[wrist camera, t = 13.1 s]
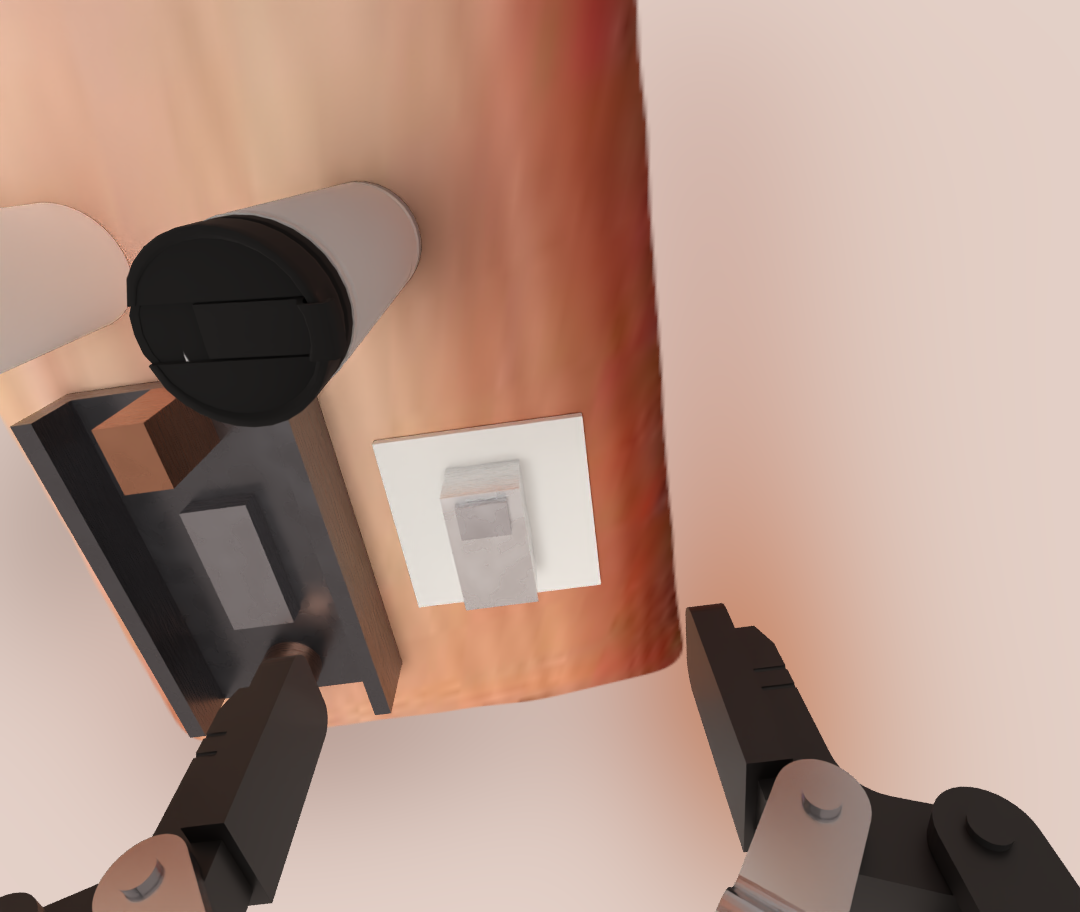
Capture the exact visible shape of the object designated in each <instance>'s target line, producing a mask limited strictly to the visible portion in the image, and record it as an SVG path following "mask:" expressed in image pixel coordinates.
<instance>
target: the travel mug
mask: <svg viewBox="0 0 1080 912" xmlns="http://www.w3.org/2000/svg"><path fill="white" fill-rule="evenodd" d="M420 255H421V236H420V231H419V227H418V224H417V222H416V220H415V218H414V215H413V214H412V212H411V211H410V209H409V208H408V206H407V205H406V204H405V203H404V202H403V201H402V200H401V199H400V198H399V197H398V196H397V195H396V194H394V193H393V192H391V191H390V190H388V189H386V188H384V187H382V186H380V185H377V184H373V183H370V182H358V181H355V182H350V183H344V184H340V185H336V186H332V187H328V188H324V189H320V190H316V191H312V192H308V193H304V194H300V195H296V196H292V197H288V198H284V199H280V200H276V201H272V202H268V203H264V204H260V205H256V206H252V207H248V208H244V209H240V210H236V211H231V212H227V213H225V214H219V215H215V216H213V217H210V218H208V219H206V220H203V221H200V222H196V223H192V224H188V225H184V226H180V227H176V228H174V229H171V230H169V231H167V232H165V233H162V234H160V235H158V236H156V237H155V238H154V239H153V240H152V241H150V242H149V243H148V244H147V245H145V246H144V247H143V248H142V250H141V251H140V253H139V254H138V255H137V257H136V258H135V260H134V261H133V263H132V265H131V268H130V271H129V273H128V276H127V279H126V286H127V307H131V308H130V315H129V317H130V320H131V324H132V328H133V331H134V335H135V337H136V340H137V342H138V344H139V346H140V348H141V350H142V352H143V354H144V355H145V357H146V358H147V359H148V360H149V361H150V362H151V363H152V364H151V365H150V366H149V367H150V368H151V370H152V371H153V373H154V374H155V375H156V377H157V378H158V379H159V381H160V382H161V384H162V385H163V386H164V388H165V389H166V390H167V391H168V392H169V393H171V394H172V395H173V396H174V397H175V398H177V399H178V400H179V401H180V402H181V403H183V404H185V405H186V406H188V407H189V408H191V409H193V410H194V411H196V412H198V413H199V414H202V415H204V416H206V417H209V418H211V419H213V420H216V421H218V422H222V423H226V424H230V425H234V426H242V427H263V426H271V425H275V424H278V423H281V422H284V421H287V420H289V419H291V418H292V417H294V416H296V415H297V414H299V413H301V412H302V411H303V410H304V409H305V408H306V407H307V406H308V405H309V404H310V403H311V402H312V401H313V400H314V399H315V398H316V396H317V395H318V394H319V393H320V391H321V390H322V389H323V388H324V386H325V385H326V384H327V383H328V381H329V380H330V379H331V378H332V377H333V376H334V375H335V374H336V373H337V372H338V371H339V370H340V369H341V367H342V366H343V364H344V363H345V362H346V361H347V360H348V358H349V357H350V356H351V354H352V353H353V352H354V351H355V349H356V348H357V347H358V345H359V344H360V343H361V342H362V340H363V339H364V338H365V336H366V335H367V334H368V333H369V331H370V330H371V329H372V327H373V326H374V325H375V323H376V322H377V321H378V320H379V318H380V317H381V316H382V314H383V313H384V312H385V311H386V309H387V308H388V307H389V305H390V304H391V303H392V302H393V300H394V299H395V298H396V296H397V295H398V294H399V292H400V291H401V290H402V289H403V287H404V286H405V285H406V283H407V282H408V281H409V280H410V278H411V277H412V275H413V274H414V272H415V270H416V268H417V266H418V263H419V260H420Z"/></svg>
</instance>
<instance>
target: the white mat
mask: <svg viewBox="0 0 1080 912" xmlns="http://www.w3.org/2000/svg"><path fill="white" fill-rule="evenodd" d="M372 446H373V450H374V453H375V457H376V460H377V464H378V467H379V470H380V474H381V477H382V481H383V484H384V488H385V491H386V495H387V498H388V502H389V505H390V509H391V512H392V516H393V519H394V523H395V526H396V530H397V533H398V536H399V540H400V543H401V547H402V550H403V554H404V557H405V561H406V564H407V568H408V571H409V575H410V578H411V582H412V585H413V589H414V592H415V595H416V599H417V602H418V606H419V607H426V606H434V605H442V604H450V603H458V602H464V599H463V595H462V591H461V587H460V582H459V578H458V574H457V570H456V566H455V562H454V557H453V553H452V549H451V545H450V541H449V537H448V532H447V528H446V524H445V520H444V516H443V512H442V508H441V503H440V494H441V489H442V485H443V480H444V476H445V471H446V468H453V467H461V466H468V465H476V464H484V463H491V462H499V461H506V460H514V459H519V461H520V467H521V473H522V479H523V485H524V491H525V498H526V504H527V510H528V516H529V522H530V528H531V534H532V540H533V546H534V552H535V558H536V564H537V582H538V592H544V591H552V590H560V589H568V588H576V587H584V586H591V585H599V584H601V581H600V572H599V563H598V554H597V545H596V536H595V527H594V518H593V509H592V500H591V491H590V482H589V473H588V464H587V455H586V446H585V437H584V428H583V419H582V413H575V414H567V415H560V416H552V417H545V418H538V419H530V420H523V421H516V422H508V423H501V424H494V425H486V426H479V427H472V428H464V429H457V430H449V431H442V432H435V433H427V434H420V435H413V436H405V437H398V438H391V439H383V440H376V441H374V442H373V444H372Z"/></svg>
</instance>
